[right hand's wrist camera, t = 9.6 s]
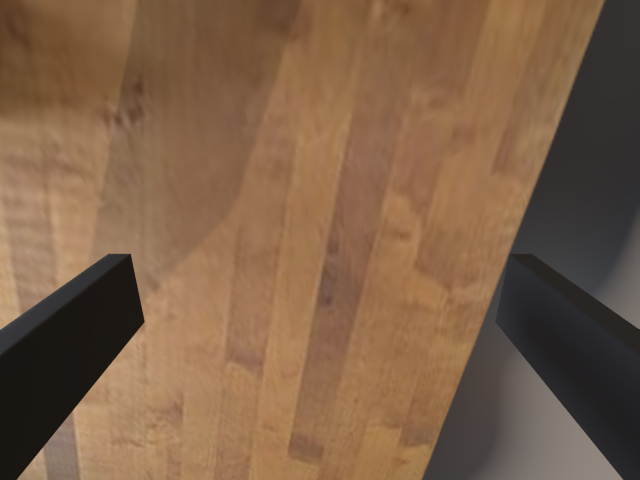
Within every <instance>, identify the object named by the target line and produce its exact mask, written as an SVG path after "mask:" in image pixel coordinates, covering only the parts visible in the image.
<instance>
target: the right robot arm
mask: <svg viewBox="0 0 640 480" xmlns="http://www.w3.org/2000/svg"><path fill="white" fill-rule="evenodd" d="M144 322H145V321H144V316H143V312H142V307H141V302H140V297H139V292H138V287H137V283H136V278H135V273H134V268H133V263H132V258H131V254H108V255H106V256H105V257H103V258H102V259H101V260H99V261H98V262H96V263H95V264H93V265H92V266H91V267H89V268H88V269H86V270H85V271H84V272H82V273H81V274H79V275H78V276H76V277H75V278H74V279H72V280H71V281H69V282H68V283H66V284H65V285H64V286H62V287H61V288H59V289H58V290H56V291H55V292H54V293H52V294H51V295H49V296H48V297H46V298H45V299H44V300H42V301H41V302H39V303H38V304H37V305H35V306H34V307H32V308H31V309H29V310H28V311H27V312H25V313H24V314H22V315H21V316H19V317H18V318H17V319H15V320H14V321H12V322H11V323H9V324H8V325H7V326H5V327H4V328H2V329H1V330H0V480H17V479H18V477H19V476H20V475H21V474H22V472H23V471H24V470H25V469H26V467H27V466H28V465H29V464H30V463H31V461H32V460H33V459H34V458H35V456H36V455H37V454H38V453H39V451H40V450H41V449H42V448H43V447H44V445H45V444H46V443H47V442H48V440H49V439H50V438H51V437H52V435H53V434H54V433H55V432H56V430H57V429H58V428H59V427H60V426H61V424H62V423H63V422H64V421H65V419H66V418H67V417H68V416H69V414H70V413H71V412H72V411H73V410H74V408H75V407H76V406H77V405H78V403H79V402H80V401H81V400H82V398H83V397H84V396H85V395H86V393H87V392H88V391H89V390H90V389H91V387H92V386H93V385H94V384H95V382H96V381H97V380H98V379H99V377H100V376H101V375H102V374H103V373H104V371H105V370H106V369H107V368H108V366H109V365H110V364H111V363H112V361H113V360H114V359H115V358H116V356H117V355H118V354H119V353H120V352H121V350H122V349H123V348H124V347H125V345H126V344H127V343H128V342H129V340H130V339H131V338H132V337H133V336H134V334H135V333H136V332H137V331H138V329H139V328H140V327H141V326H142V324H143V323H144ZM496 323H497V324H498V326H499V327H500V328H501V329H502V331H503V332H504V333H505V334H506V336H507V337H508V338H509V339H510V340H511V342H512V343H513V344H514V345H515V347H516V348H517V349H518V350H519V352H520V353H521V354H522V355H523V356H524V358H525V359H526V360H527V361H528V363H529V364H530V365H531V366H532V367H533V369H534V370H535V371H536V373H537V374H538V375H539V376H540V377H541V379H542V380H543V381H544V382H545V384H546V385H547V386H548V387H549V388H550V390H551V391H552V392H553V393H554V395H555V396H556V397H557V398H558V400H559V401H560V402H561V403H562V405H563V406H564V407H565V408H566V410H567V411H568V412H569V413H570V414H571V416H572V417H573V418H574V419H575V421H576V422H577V423H578V424H579V426H580V427H581V428H582V429H583V430H584V432H585V433H586V434H587V435H588V437H589V438H590V439H591V440H592V442H593V443H594V444H595V445H596V447H597V448H598V449H599V450H600V451H601V453H602V454H603V455H604V456H605V458H606V459H607V460H608V461H609V462H610V464H611V465H612V466H613V467H614V469H615V470H616V471H617V472H618V474H619V475H620V476H621V477H622V479H623V480H640V329H638V328H636V327H635V326H633V325H632V324H631V323H629V322H628V321H626V320H625V319H623V318H622V317H621V316H619V315H618V314H616V313H615V312H613V311H612V310H611V309H609V308H608V307H606V306H605V305H603V304H602V303H601V302H599V301H598V300H596V299H595V298H594V297H592V296H591V295H589V294H588V293H586V292H585V291H584V290H582V289H581V288H579V287H578V286H576V285H575V284H574V283H572V282H571V281H569V280H568V279H566V278H565V277H564V276H562V275H561V274H559V273H558V272H556V271H555V270H554V269H552V268H551V267H549V266H548V265H547V264H545V263H544V262H542V261H541V260H539V259H538V258H537V257H535V256H534V255H532V254H509V258H508V263H507V268H506V273H505V278H504V283H503V288H502V292H501V297H500V302H499V307H498V312H497V316H496Z"/></svg>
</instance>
